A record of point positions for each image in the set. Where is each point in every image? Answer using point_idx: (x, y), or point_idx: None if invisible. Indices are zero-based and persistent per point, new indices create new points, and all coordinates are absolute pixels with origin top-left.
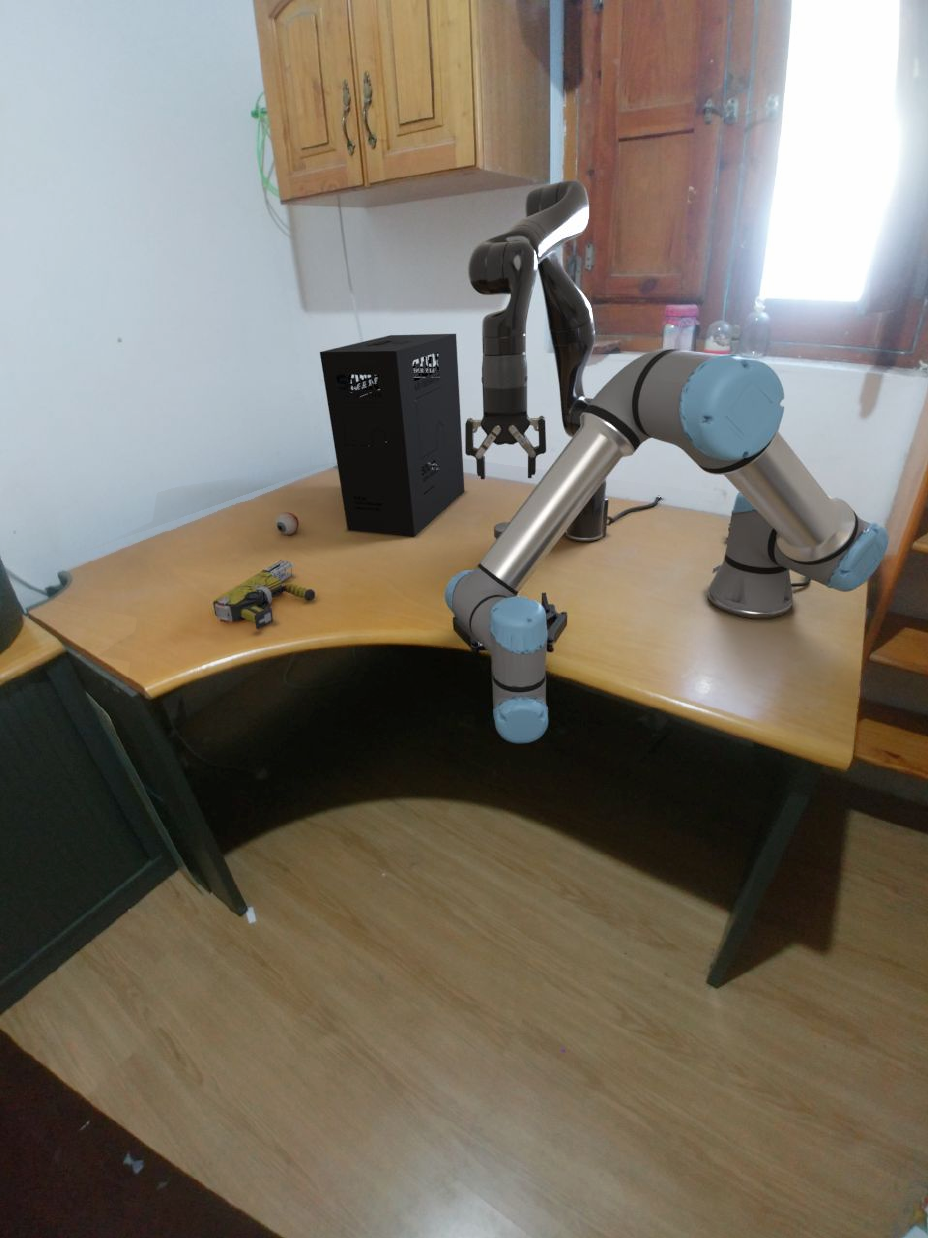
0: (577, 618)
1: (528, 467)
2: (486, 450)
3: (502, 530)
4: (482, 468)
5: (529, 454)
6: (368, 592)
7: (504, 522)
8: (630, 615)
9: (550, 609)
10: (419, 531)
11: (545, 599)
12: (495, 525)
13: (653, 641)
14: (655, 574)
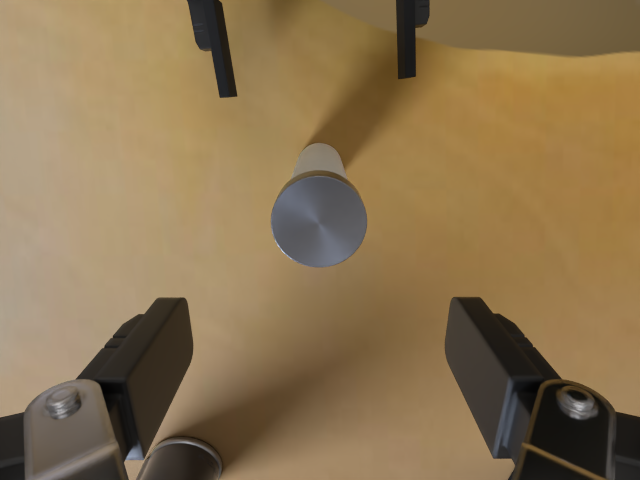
0: (174, 131)
1: (152, 330)
2: (525, 439)
3: (334, 191)
4: (492, 331)
5: (92, 401)
6: (619, 236)
7: (330, 263)
8: (68, 146)
9: (203, 16)
10: (510, 477)
11: (217, 57)
12: (361, 238)
13: (9, 34)
14: (37, 313)
